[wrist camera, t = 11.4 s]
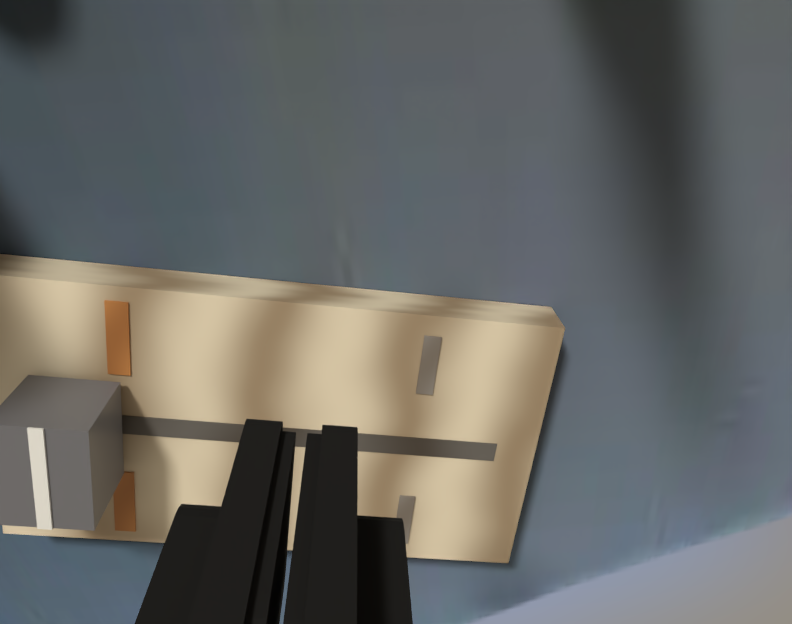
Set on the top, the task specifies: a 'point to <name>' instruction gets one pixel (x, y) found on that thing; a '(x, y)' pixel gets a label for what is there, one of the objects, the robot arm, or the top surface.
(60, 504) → the fader cap
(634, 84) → the top surface
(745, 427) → the top surface
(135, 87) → the top surface
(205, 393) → the fader panel
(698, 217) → the top surface
